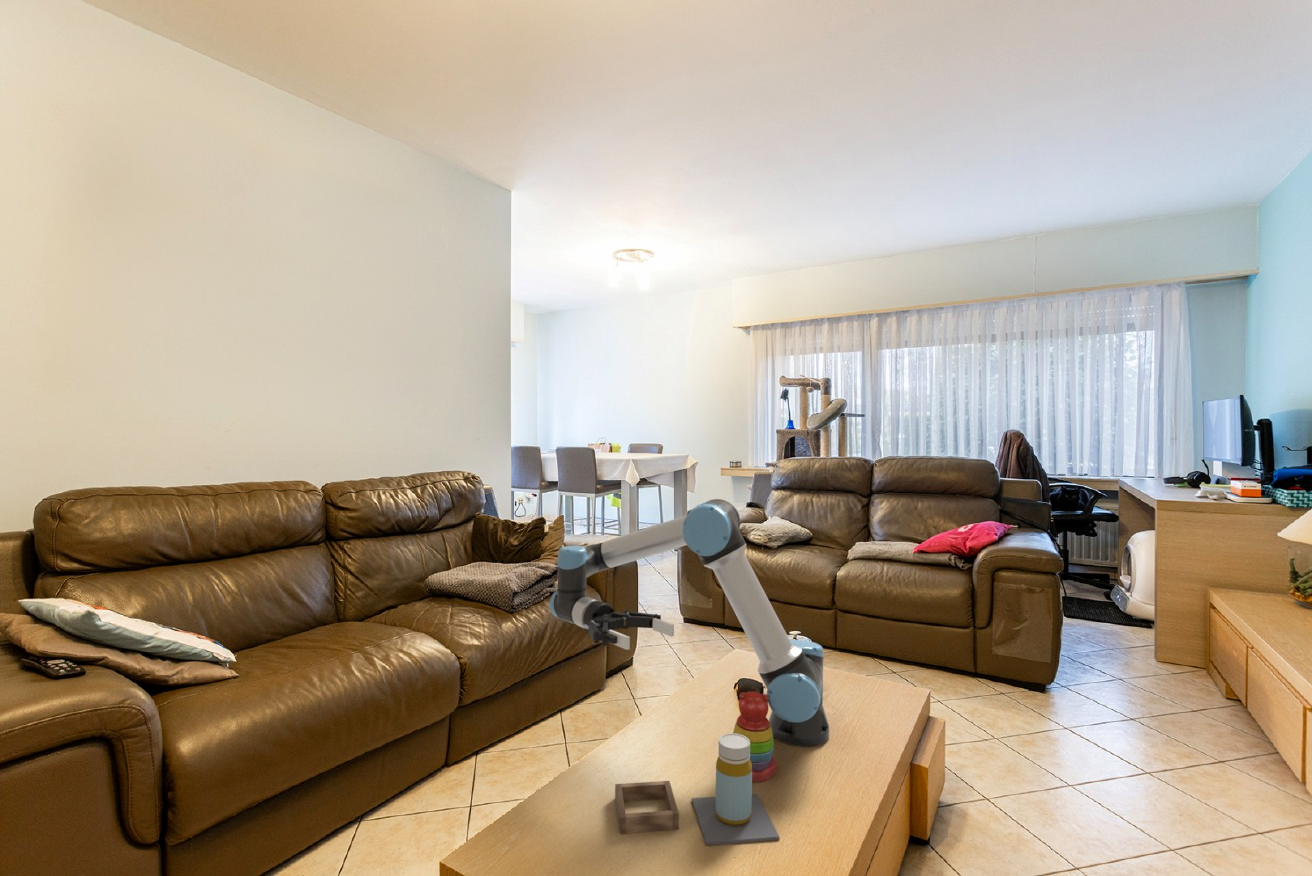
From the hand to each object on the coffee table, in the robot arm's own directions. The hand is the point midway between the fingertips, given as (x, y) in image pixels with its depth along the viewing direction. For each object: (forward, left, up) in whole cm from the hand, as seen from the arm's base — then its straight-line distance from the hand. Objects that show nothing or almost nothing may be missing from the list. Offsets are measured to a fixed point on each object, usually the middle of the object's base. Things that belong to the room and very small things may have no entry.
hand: (651, 636), depth 141 cm
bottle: (-14, +20, -30) cm, 38 cm away
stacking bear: (-23, +3, -30) cm, 38 cm away
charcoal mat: (-14, +20, -30) cm, 39 cm away
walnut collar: (+3, +16, -30) cm, 34 cm away
